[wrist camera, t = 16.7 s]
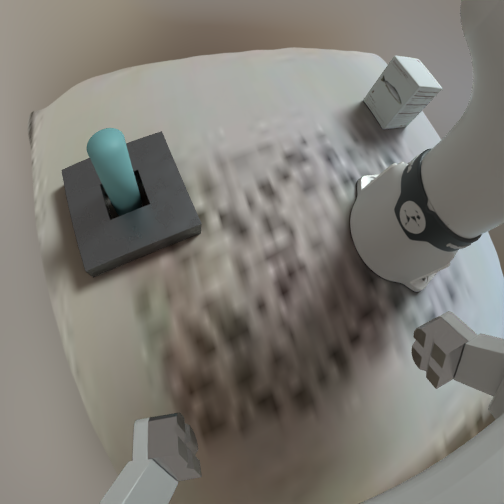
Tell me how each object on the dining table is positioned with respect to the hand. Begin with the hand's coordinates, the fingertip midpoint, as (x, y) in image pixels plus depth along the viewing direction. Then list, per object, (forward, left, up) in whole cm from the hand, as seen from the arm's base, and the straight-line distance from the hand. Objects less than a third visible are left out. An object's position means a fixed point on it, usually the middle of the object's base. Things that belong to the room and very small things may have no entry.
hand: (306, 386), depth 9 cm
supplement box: (-43, -24, -26) cm, 56 cm away
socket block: (+4, -21, -26) cm, 34 cm away
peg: (+4, -21, -26) cm, 34 cm away
